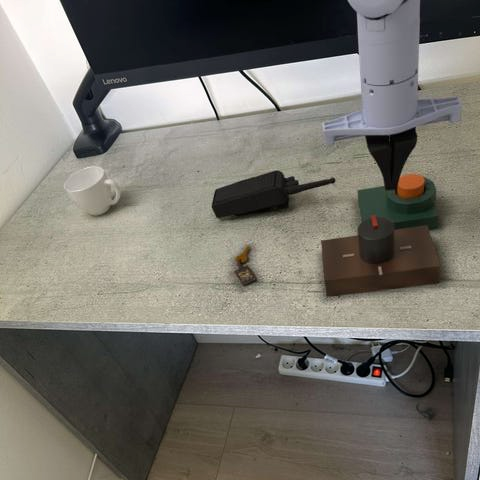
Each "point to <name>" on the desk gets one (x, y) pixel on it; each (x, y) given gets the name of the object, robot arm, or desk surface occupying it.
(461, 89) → the desk surface
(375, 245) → the knob
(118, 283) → the desk surface
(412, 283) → the lock panel
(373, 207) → the button block
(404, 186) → the button
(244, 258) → the key tag
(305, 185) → the walkie-talkie
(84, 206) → the cup
